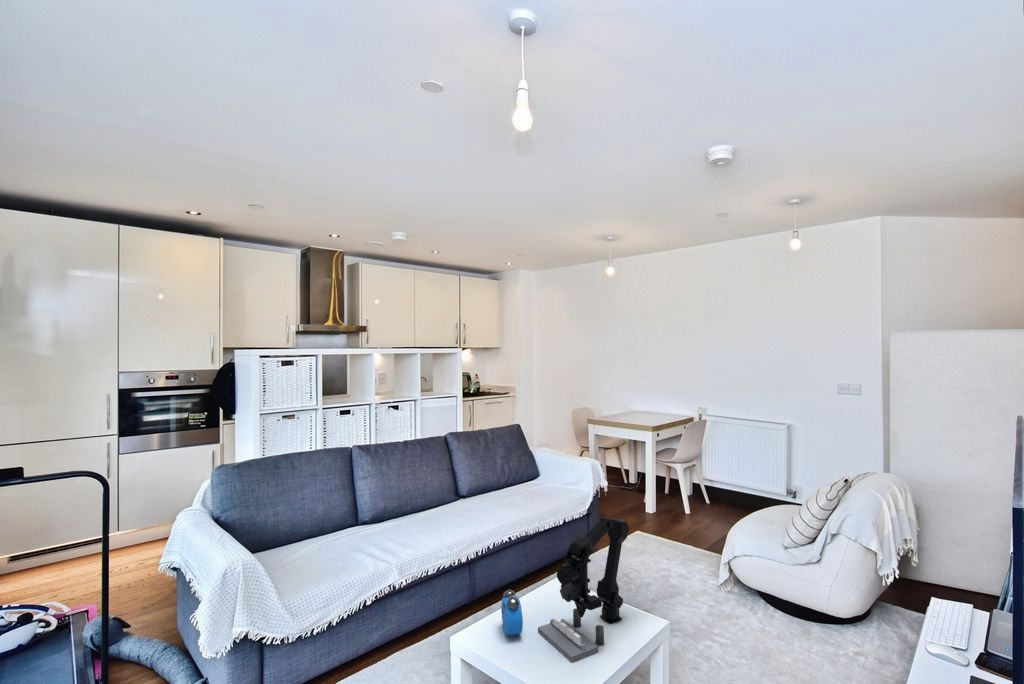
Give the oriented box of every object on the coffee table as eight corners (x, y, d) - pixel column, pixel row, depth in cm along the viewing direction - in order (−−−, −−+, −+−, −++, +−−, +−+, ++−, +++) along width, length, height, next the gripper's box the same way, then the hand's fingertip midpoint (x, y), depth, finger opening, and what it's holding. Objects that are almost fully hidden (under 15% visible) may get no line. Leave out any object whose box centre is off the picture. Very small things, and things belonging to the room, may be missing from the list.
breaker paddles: (555, 623, 191) (554, 615, 192) (583, 647, 176) (583, 638, 176) (552, 624, 191) (551, 616, 191) (580, 648, 175) (580, 639, 175)
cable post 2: (600, 640, 184) (600, 624, 184) (605, 644, 182) (605, 627, 182) (594, 642, 183) (593, 626, 183) (599, 646, 180) (599, 630, 180)
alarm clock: (523, 641, 184) (522, 601, 184) (507, 643, 183) (506, 603, 183) (515, 623, 197) (515, 585, 197) (500, 625, 195) (500, 587, 196)
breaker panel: (563, 623, 196) (562, 614, 196) (598, 652, 177) (598, 641, 177) (538, 632, 190) (537, 622, 190) (571, 662, 171) (571, 651, 171)
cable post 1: (577, 622, 196) (577, 607, 196) (582, 626, 194) (582, 611, 194) (571, 624, 195) (571, 609, 195) (576, 628, 192) (576, 613, 192)
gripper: (549, 571, 191) (550, 611, 191) (578, 591, 175) (579, 635, 175) (572, 565, 197) (572, 604, 196) (602, 583, 181) (603, 626, 180)
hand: (581, 616), depth 187 cm, fingers closed
